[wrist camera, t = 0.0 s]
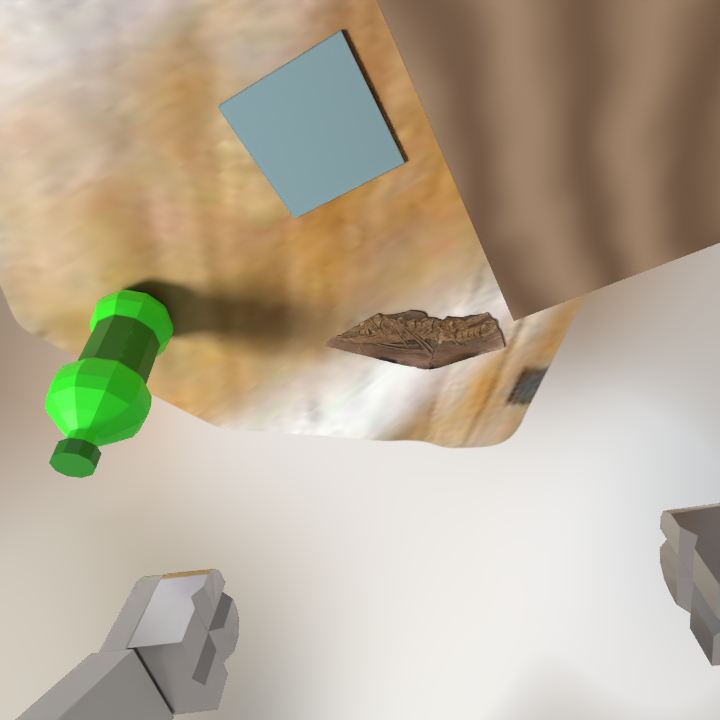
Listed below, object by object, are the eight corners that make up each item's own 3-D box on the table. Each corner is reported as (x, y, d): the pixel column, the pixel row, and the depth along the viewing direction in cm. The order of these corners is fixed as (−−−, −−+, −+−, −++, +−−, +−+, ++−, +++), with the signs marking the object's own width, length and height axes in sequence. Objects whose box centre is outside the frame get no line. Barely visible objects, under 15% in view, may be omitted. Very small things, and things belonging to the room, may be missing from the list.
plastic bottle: (151, 347, 76) (93, 504, 58) (83, 303, 70) (-5, 462, 52) (196, 311, 72) (148, 468, 54) (127, 261, 66) (47, 418, 48)
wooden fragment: (515, 312, 74) (517, 317, 73) (496, 368, 81) (497, 373, 80) (327, 304, 72) (326, 309, 71) (325, 363, 80) (325, 368, 79)
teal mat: (294, 216, 62) (294, 218, 62) (218, 105, 54) (217, 107, 53) (404, 160, 58) (404, 162, 58) (340, 29, 49) (340, 31, 49)
